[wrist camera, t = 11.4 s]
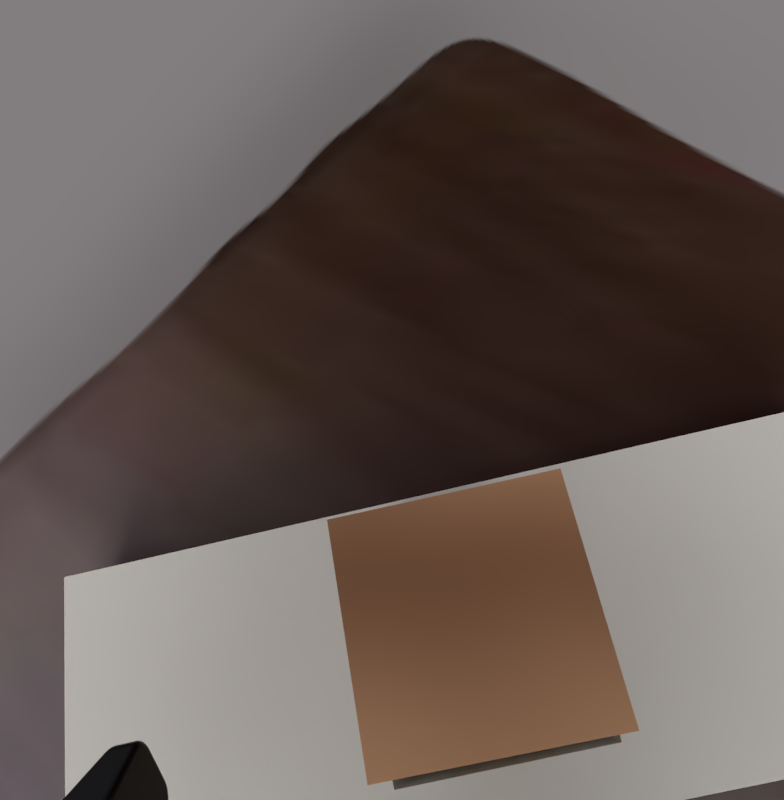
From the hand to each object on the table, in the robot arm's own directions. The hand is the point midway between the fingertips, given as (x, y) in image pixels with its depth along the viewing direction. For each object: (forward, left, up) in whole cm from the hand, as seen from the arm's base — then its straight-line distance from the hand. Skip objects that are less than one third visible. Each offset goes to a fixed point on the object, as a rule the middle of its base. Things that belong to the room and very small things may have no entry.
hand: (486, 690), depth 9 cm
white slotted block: (0, +1, -14) cm, 14 cm away
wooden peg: (0, +1, -14) cm, 14 cm away
